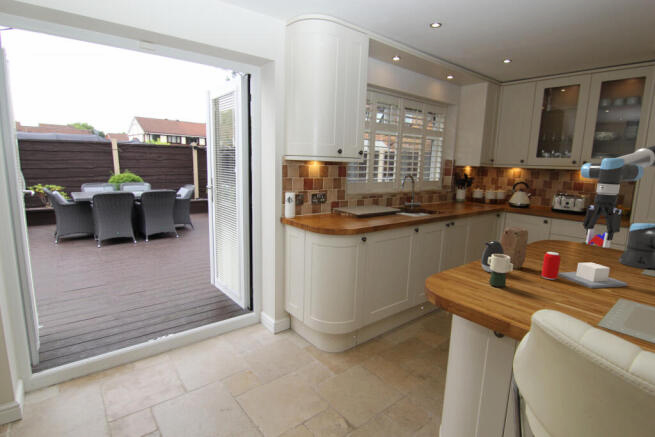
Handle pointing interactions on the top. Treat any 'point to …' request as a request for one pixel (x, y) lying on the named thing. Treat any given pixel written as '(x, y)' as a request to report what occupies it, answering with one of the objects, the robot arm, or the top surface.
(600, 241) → the toy building block
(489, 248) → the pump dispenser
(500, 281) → the character mug
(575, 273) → the build base
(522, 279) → the top surface
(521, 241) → the block
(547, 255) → the beverage can
